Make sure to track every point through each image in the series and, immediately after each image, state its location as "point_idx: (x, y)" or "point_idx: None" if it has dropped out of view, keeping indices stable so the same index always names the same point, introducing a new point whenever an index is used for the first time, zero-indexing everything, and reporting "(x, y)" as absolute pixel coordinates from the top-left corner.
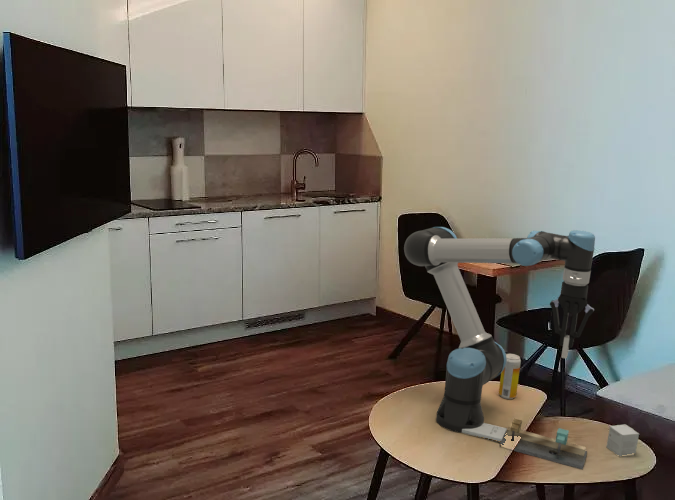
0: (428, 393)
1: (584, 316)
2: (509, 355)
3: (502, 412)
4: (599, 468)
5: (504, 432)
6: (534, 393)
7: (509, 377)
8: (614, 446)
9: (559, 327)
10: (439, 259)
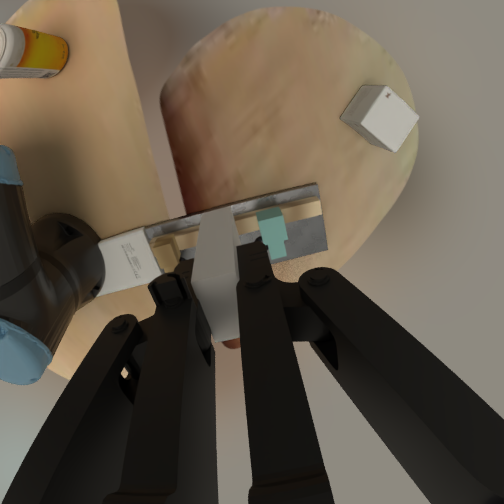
0: None
1: (431, 500)
2: None
3: (84, 142)
4: (350, 218)
5: (151, 253)
6: None
7: (27, 72)
8: (363, 134)
9: (129, 351)
10: None
